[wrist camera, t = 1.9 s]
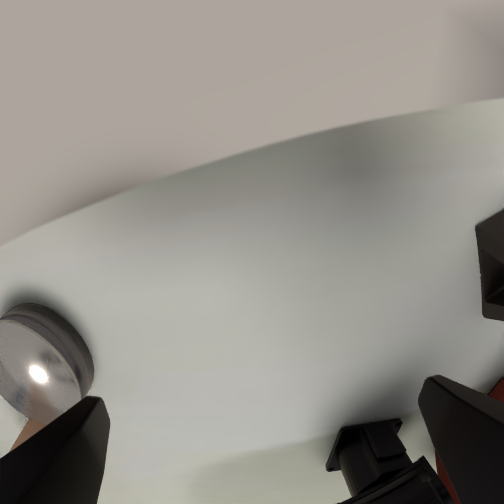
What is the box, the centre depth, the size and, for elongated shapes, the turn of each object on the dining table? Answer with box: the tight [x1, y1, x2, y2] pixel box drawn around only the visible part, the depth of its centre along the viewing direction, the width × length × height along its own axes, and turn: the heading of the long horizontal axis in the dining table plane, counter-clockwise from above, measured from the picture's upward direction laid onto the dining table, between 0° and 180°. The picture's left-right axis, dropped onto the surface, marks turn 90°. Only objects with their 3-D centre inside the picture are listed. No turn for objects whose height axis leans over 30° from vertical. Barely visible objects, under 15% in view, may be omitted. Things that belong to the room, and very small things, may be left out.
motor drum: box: [0, 303, 94, 425], centre depth 18 cm, size 9×9×4 cm
